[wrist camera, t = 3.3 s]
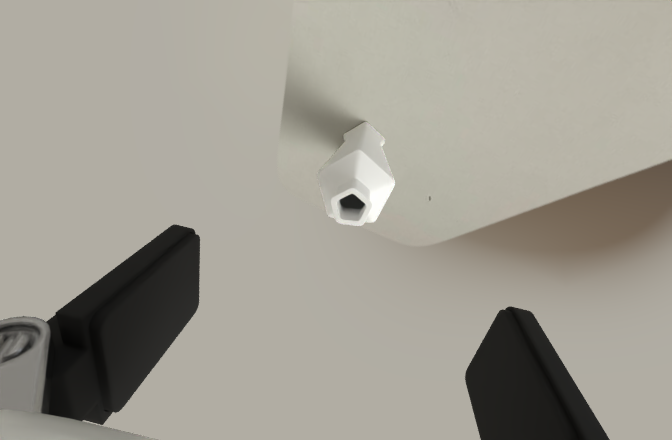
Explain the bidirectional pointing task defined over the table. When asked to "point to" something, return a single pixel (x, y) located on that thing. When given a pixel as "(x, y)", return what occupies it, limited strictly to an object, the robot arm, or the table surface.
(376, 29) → the table surface
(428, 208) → the table surface
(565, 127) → the table surface
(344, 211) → the white faceted vase
